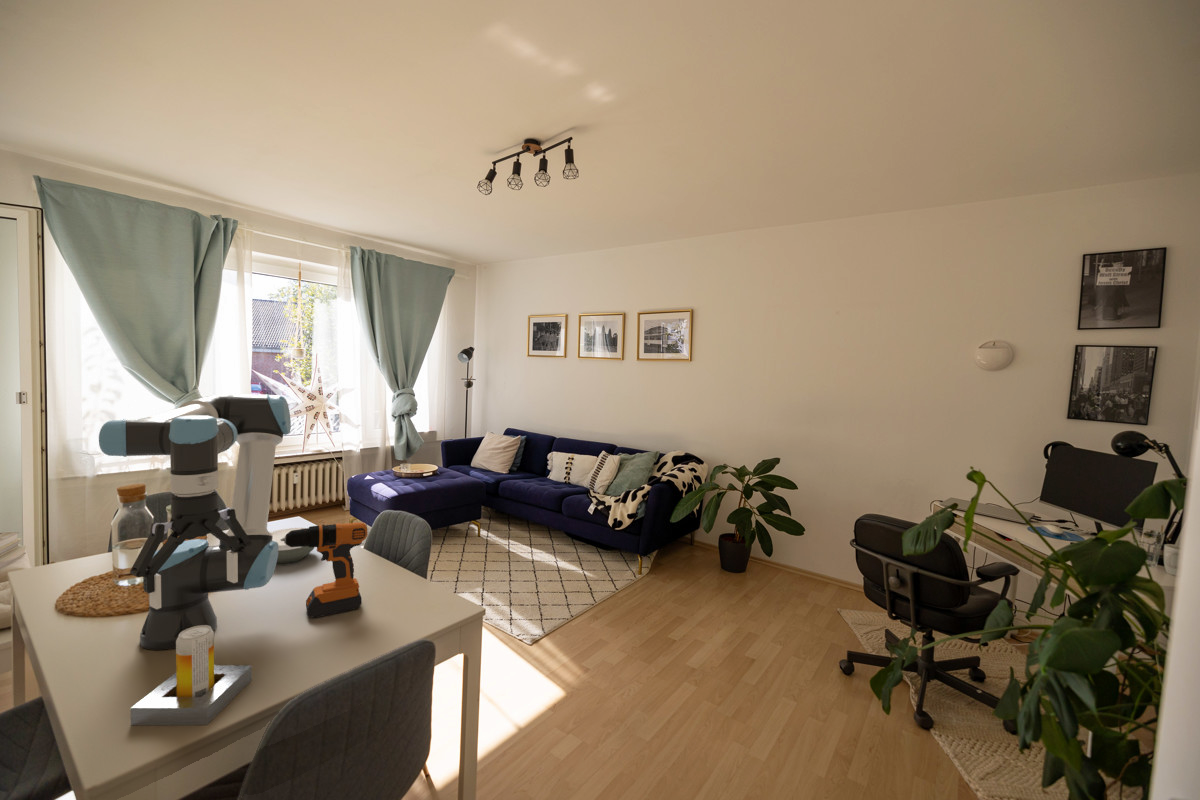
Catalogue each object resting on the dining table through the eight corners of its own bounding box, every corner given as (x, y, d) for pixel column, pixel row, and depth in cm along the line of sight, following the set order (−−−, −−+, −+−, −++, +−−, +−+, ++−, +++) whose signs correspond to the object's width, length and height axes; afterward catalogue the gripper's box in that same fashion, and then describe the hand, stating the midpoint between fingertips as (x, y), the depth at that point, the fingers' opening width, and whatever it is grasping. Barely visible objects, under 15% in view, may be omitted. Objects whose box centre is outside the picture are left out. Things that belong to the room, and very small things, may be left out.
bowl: (267, 550, 186) (267, 528, 185) (324, 547, 192) (324, 526, 191) (249, 571, 168) (249, 546, 168) (312, 566, 174) (312, 543, 173)
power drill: (280, 625, 135) (280, 534, 134) (280, 614, 141) (280, 526, 140) (368, 607, 147) (369, 524, 145) (364, 597, 153) (365, 517, 151)
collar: (130, 725, 97) (130, 708, 97) (185, 680, 111) (185, 665, 111) (206, 724, 98) (206, 707, 98) (251, 680, 112) (251, 665, 112)
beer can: (205, 688, 109) (204, 621, 108) (220, 698, 106) (219, 629, 105) (171, 704, 104) (170, 634, 103) (185, 715, 101) (184, 642, 100)
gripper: (124, 509, 89) (127, 624, 91) (269, 483, 112) (269, 575, 113) (105, 502, 93) (108, 614, 94) (249, 478, 115) (249, 568, 117)
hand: (196, 593), depth 104 cm, fingers open, 13 cm apart
